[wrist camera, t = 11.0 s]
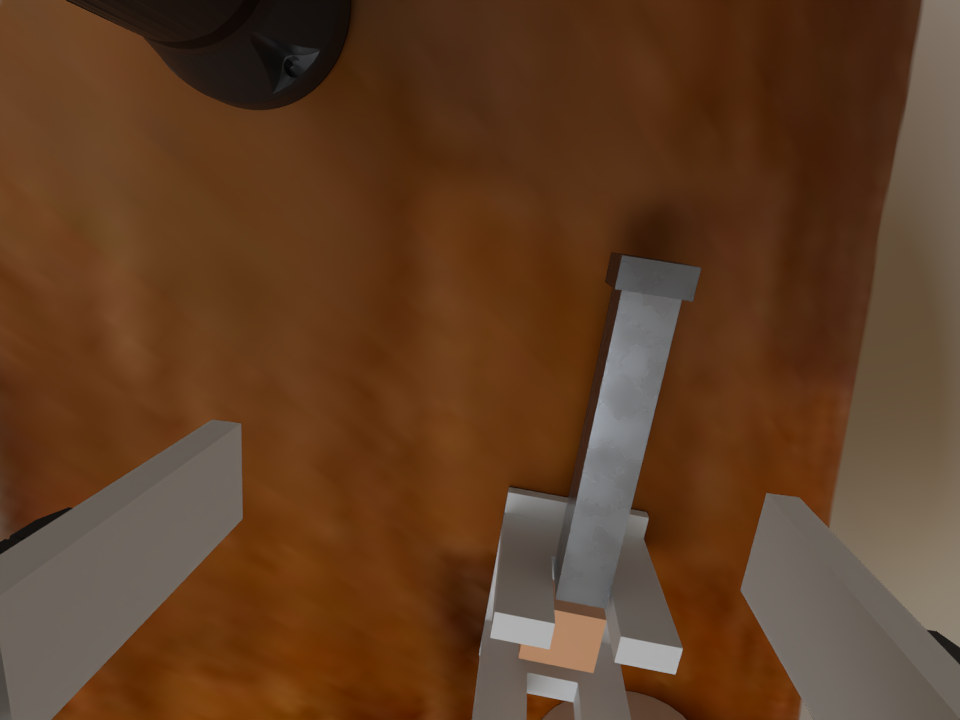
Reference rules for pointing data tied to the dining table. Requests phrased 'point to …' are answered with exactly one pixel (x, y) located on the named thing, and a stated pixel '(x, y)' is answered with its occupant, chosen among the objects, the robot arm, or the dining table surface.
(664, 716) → the bowl
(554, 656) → the block
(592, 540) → the shaft
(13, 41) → the dining table surface
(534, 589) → the bracket
